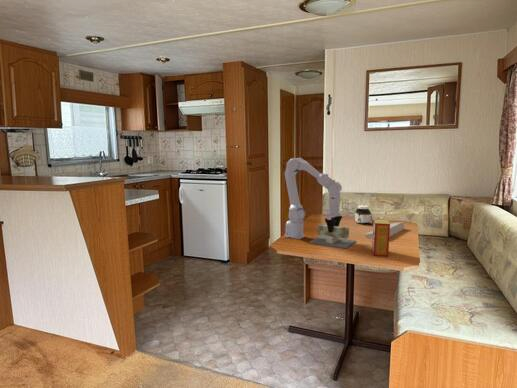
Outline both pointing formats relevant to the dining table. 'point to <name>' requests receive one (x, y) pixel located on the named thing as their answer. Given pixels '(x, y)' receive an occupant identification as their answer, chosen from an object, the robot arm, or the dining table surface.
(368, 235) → the decorative molding
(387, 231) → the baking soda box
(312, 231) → the dining table surface
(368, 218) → the white toy car
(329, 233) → the bar
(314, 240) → the stand
